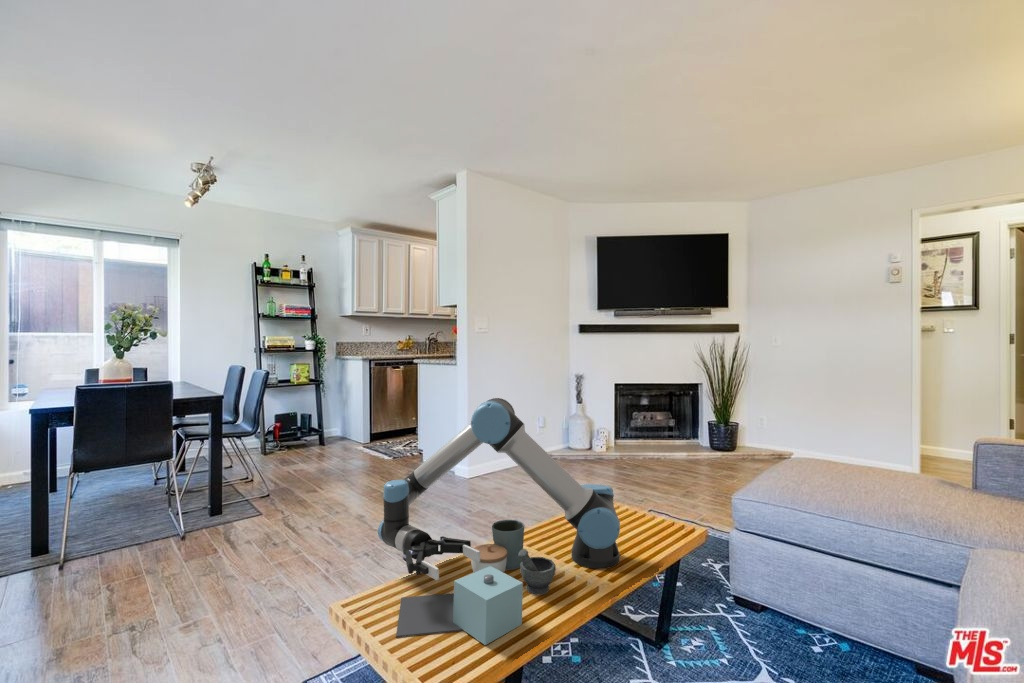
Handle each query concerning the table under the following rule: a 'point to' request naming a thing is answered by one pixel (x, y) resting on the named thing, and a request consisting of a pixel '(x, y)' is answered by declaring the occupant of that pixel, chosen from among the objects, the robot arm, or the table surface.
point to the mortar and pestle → (536, 572)
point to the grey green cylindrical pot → (509, 540)
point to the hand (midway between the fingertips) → (459, 565)
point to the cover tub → (487, 604)
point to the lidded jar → (490, 557)
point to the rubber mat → (426, 615)
